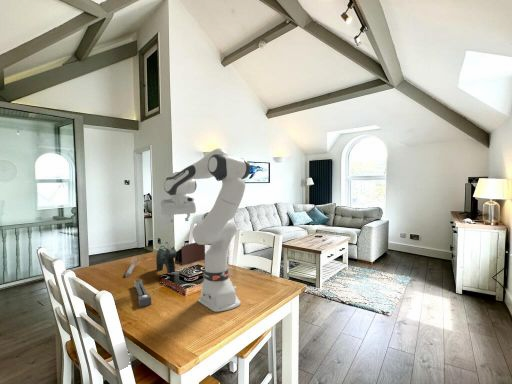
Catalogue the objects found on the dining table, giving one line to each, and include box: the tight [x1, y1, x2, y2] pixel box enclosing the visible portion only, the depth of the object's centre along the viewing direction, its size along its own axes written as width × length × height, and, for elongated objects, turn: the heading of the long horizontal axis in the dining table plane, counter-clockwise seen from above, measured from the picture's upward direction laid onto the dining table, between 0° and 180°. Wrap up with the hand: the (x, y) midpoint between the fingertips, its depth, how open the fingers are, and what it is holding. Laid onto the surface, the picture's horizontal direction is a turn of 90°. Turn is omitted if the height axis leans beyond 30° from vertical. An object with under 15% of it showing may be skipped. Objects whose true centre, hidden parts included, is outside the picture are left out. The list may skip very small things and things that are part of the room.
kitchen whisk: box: [124, 254, 142, 278], centre depth 175 cm, size 6×34×6 cm, turn 14°
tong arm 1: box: [134, 279, 143, 296], centre depth 136 cm, size 22×1×3 cm, turn 31°
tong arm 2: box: [137, 279, 148, 295], centre depth 138 cm, size 22×1×3 cm, turn 31°
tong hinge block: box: [137, 293, 152, 308], centre depth 125 cm, size 4×5×4 cm
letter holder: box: [174, 242, 206, 266], centre depth 193 cm, size 10×20×14 cm, turn 138°
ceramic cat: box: [155, 241, 177, 273], centre depth 168 cm, size 20×6×20 cm, turn 46°
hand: (179, 221), depth 159 cm, fingers open, 8 cm apart
